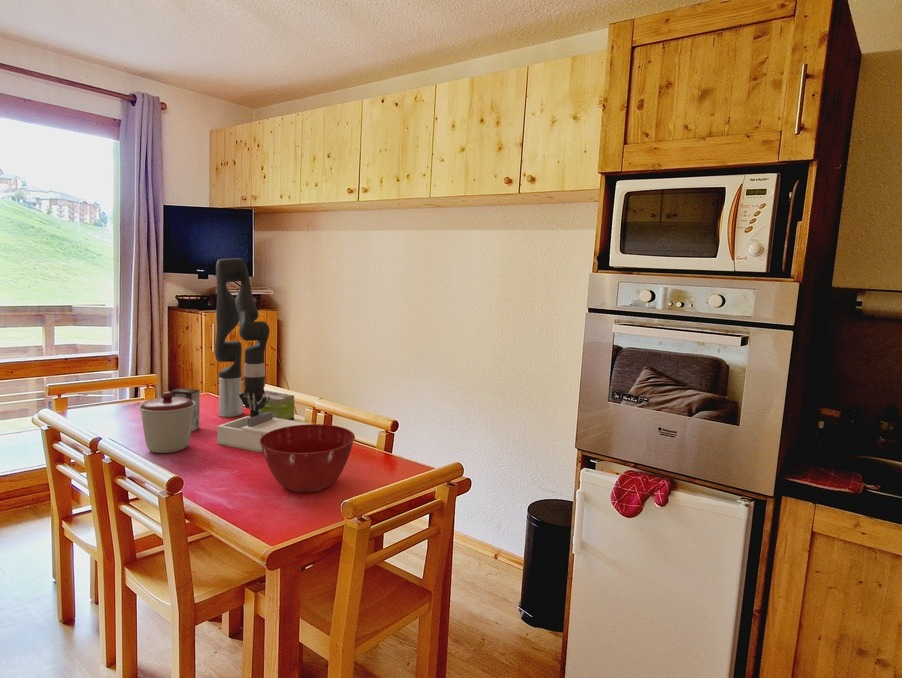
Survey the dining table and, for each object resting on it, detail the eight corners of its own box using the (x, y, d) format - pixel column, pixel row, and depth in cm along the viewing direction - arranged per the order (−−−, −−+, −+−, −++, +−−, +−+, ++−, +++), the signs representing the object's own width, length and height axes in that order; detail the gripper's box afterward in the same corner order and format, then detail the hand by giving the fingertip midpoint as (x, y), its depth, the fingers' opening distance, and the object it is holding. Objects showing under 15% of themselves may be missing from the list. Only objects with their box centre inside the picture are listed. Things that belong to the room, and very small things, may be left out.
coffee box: (170, 430, 218) (169, 391, 216) (179, 425, 225) (178, 387, 223) (191, 431, 218) (191, 392, 216) (200, 427, 224) (200, 389, 222)
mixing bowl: (294, 512, 151) (294, 459, 149) (241, 483, 169) (241, 435, 167) (372, 485, 172) (373, 438, 170) (317, 462, 190) (318, 419, 188)
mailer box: (217, 444, 204) (217, 426, 203) (247, 433, 219) (247, 416, 218) (260, 452, 197) (260, 433, 196) (288, 440, 212) (288, 422, 211)
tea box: (249, 429, 224) (249, 394, 222) (266, 423, 233) (266, 389, 231) (278, 435, 218) (278, 399, 216) (294, 429, 228) (295, 394, 226)
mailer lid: (241, 429, 199) (241, 419, 199) (271, 419, 215) (271, 409, 214) (288, 438, 192) (288, 427, 192) (315, 426, 207) (315, 416, 207)
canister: (206, 447, 201) (206, 391, 198) (160, 461, 185) (159, 400, 182) (175, 438, 209) (174, 384, 206) (128, 450, 193) (126, 392, 190)
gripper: (275, 374, 206) (275, 419, 208) (247, 371, 210) (247, 414, 213) (262, 378, 199) (261, 424, 201) (233, 374, 203) (233, 419, 206)
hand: (254, 419), depth 207 cm, fingers closed
